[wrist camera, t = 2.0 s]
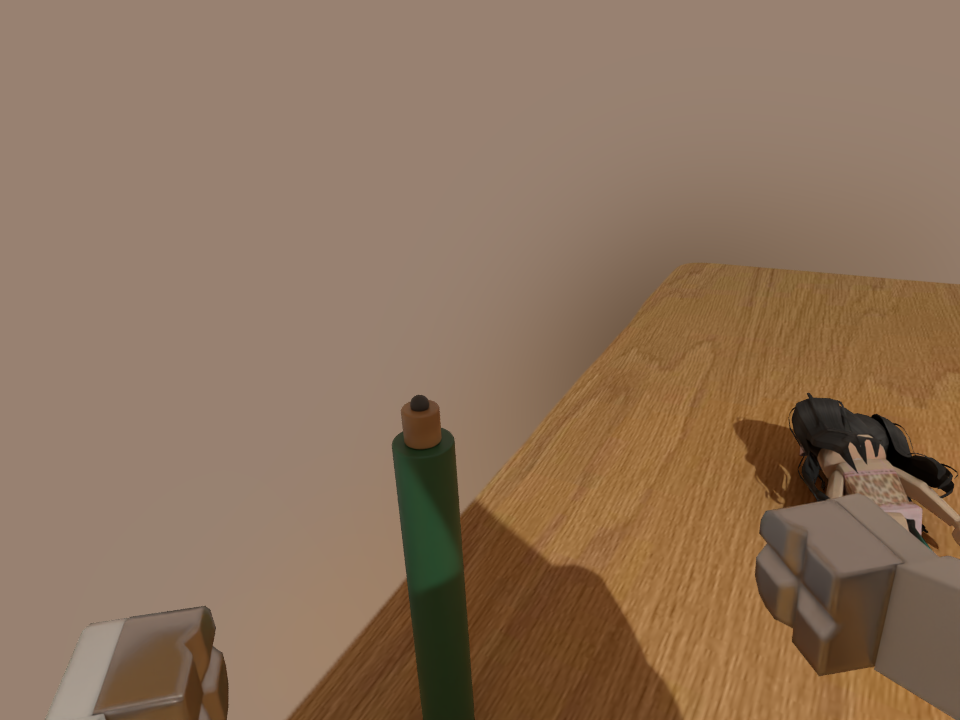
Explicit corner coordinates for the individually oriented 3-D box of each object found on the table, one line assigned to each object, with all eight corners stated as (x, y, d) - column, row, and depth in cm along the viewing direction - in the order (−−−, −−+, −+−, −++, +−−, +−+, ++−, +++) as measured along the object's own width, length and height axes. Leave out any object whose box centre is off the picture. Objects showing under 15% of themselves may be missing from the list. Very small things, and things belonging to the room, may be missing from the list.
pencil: (426, 753, 28) (388, 414, 22) (421, 710, 30) (384, 385, 24) (478, 744, 28) (454, 407, 22) (471, 701, 30) (446, 378, 24)
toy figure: (1035, 651, 31) (891, 450, 44) (1061, 536, 28) (899, 358, 42) (855, 660, 32) (767, 461, 46) (863, 550, 30) (767, 373, 43)
